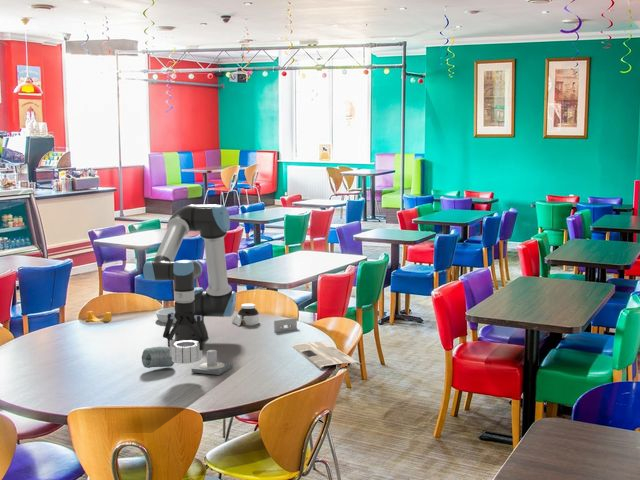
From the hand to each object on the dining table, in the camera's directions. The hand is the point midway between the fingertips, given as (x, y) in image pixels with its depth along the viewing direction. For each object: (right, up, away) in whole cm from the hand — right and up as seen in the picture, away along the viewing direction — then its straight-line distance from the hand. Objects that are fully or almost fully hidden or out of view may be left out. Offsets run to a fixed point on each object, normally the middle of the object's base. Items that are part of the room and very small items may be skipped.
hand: (186, 357), depth 293 cm
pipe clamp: (-61, +2, +93) cm, 111 cm away
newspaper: (+54, -5, +31) cm, 63 cm away
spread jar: (+14, +1, +84) cm, 85 cm away
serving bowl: (-21, +2, +94) cm, 97 cm away
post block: (+8, -7, +12) cm, 16 cm away
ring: (0, -1, 0) cm, 1 cm away
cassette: (+35, 0, +71) cm, 79 cm away
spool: (-15, -7, +13) cm, 21 cm away
